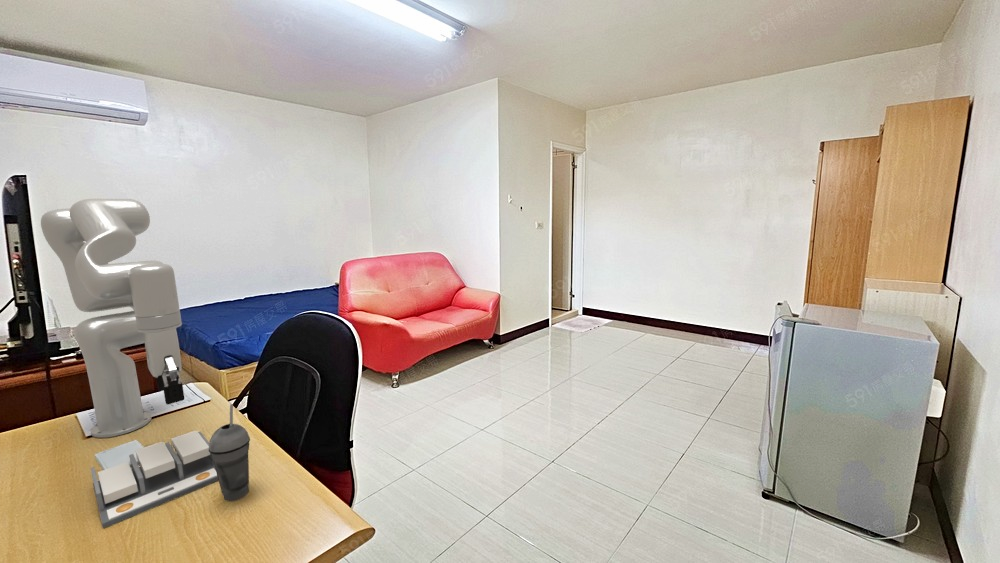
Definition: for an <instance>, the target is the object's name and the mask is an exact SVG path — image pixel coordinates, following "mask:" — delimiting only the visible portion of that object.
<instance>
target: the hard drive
mask: <svg viewBox="0 0 1000 563" xmlns="http://www.w3.org/2000/svg"><path fill="white" fill-rule="evenodd" d="M144 447H145V446H143V444H141V442H140V441H139V439H134V440H131V441H129V442H126V443H122V444H120V445H117V446H115V447H111V448H108V449H106V450H102V451H100V452H97V453H95V454H94V458H95V459H94V460H96V461H97V463H98V464H99V466H100V467H101V469H102V470H105V469H108V468H111V467H114V466H117V465H120V464H123V463H126V462H128V463H129V465H130V468H131V463H130V457H129V455H131V454H133V455H134V457H135V459H136V462H137V464H138V466H140V464H139V462H138V460H137V457H136V451H135V450H138V449H141V448H144ZM131 469H132V468H131Z"/></svg>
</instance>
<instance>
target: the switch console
mask: <svg viewBox="0 0 1000 563" xmlns="http://www.w3.org/2000/svg"><path fill="white" fill-rule="evenodd" d="M197 432H198V433H199V434H200V436H201V437H202V438H203V440H204V441H205V442H206V443H207V445H208V446H209V443H210V441H209V440H208V439H207V438H206V437H205V435H204V434H203V433H202V431H197ZM164 443H165V445H166V447H167V449H168V450H169V452H170V454H171V456H172V457H173V459H174V462H175V468H173V469H171V470H168V471H165V472H163V473H160V474H157V475H154V476H152V477H149V478H145V476H144V474H143V471H142V469H141V467H140V465H138V464H137V462H136V459H135V457H134V455H133V454H131V455H129V457H130V463H131V470H132V473H133V476H134V478H135V481H136V483H137V488H138V492H135V493H132V494H130V495H127V496H125V497H122V498H119V499H117V500H114V501H112V502H109V503H106V504H105V501H104V497H103V494H102V490H101V486H100V482H99V479H98V477H97V476H98V475H97V472H96V469H95V466H92V467H90V473H91V478H92V482H93V483H92V486H93V490H94V495H95V499H96V503H97V508H98V512H99V517H100V522H101V526H102V529H103V528H104V529H105V527H106V528H108V527H110V526H114V525H115V524H117V523H120V522H123V521H125V520H127V519H130V518H132V517H134V516H137V515H139V514H142V513H144V512H147V511H149V510H152V509H154V508H157V507H159V506H161V505H164V504H165V503H168V502H171V501H173V500H175V499H177V498H180V497H183V496H185V495H187V494H190V493H193V492H194V491H197V490H200V489H202V488H204V487H207V486H209V485H211V484H214V483H216V482H219V480H218V476H217V472H216V469H215V465H214V461H213V459H212V457H211V455H208V456H205V457H203V458H200V459H197V460H195V461H192V462H189V463H187V464H183V462H182V461H181V459H180V457H179V456H178V454H177V453H176V451H175V449H174V448H173V446H172V444H171V443H170V442H169V441H168V442H164Z"/></svg>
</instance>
